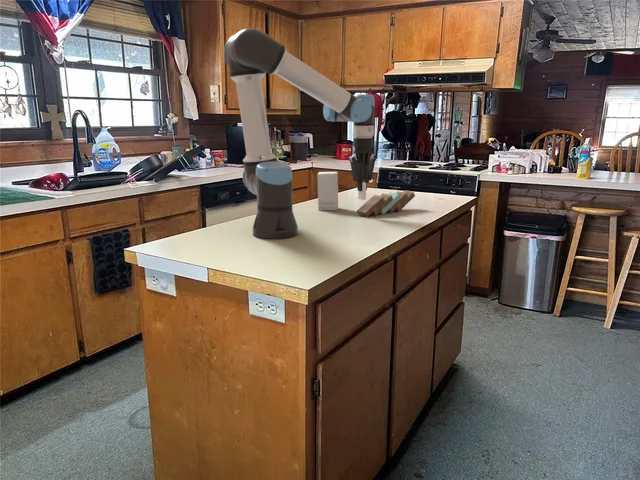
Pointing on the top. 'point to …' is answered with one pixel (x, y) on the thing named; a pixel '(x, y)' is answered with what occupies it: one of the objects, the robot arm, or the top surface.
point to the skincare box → (327, 190)
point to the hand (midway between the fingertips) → (361, 199)
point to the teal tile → (395, 199)
